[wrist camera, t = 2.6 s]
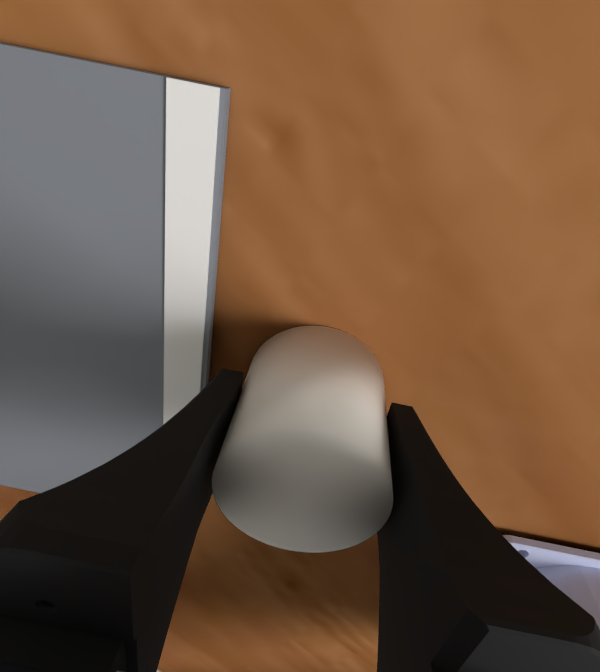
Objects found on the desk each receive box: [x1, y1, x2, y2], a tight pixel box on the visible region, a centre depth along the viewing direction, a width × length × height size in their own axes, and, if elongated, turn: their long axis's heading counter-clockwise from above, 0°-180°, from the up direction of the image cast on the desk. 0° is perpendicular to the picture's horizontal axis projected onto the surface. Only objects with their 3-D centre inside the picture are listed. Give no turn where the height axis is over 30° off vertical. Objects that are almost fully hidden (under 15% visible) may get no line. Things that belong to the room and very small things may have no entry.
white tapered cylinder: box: [212, 325, 393, 553], centre depth 13 cm, size 4×4×4 cm
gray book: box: [0, 42, 231, 493], centre depth 15 cm, size 10×16×1 cm, turn 171°
